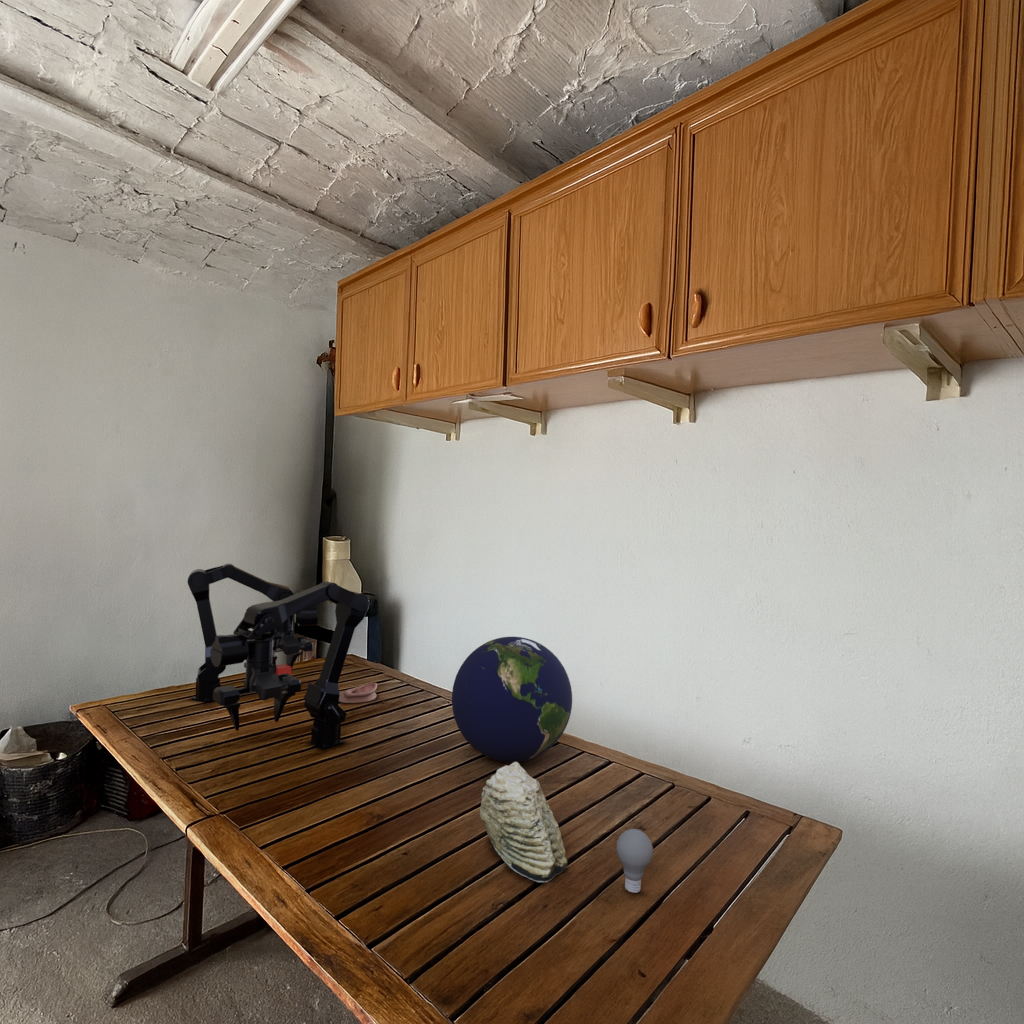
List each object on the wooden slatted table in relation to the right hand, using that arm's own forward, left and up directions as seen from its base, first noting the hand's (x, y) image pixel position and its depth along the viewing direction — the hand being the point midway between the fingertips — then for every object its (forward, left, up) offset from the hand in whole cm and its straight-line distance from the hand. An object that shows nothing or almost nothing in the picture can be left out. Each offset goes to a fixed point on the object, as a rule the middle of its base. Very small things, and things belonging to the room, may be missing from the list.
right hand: (257, 725), depth 148 cm
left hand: (-31, -46, -4) cm, 55 cm away
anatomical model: (-45, -26, -9) cm, 53 cm away
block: (-31, -46, -5) cm, 55 cm away
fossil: (-16, +68, -9) cm, 71 cm away
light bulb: (-22, +88, -9) cm, 91 cm away
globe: (-47, +38, -9) cm, 61 cm away
